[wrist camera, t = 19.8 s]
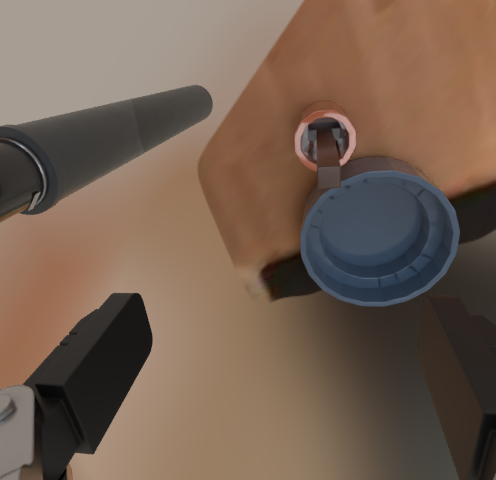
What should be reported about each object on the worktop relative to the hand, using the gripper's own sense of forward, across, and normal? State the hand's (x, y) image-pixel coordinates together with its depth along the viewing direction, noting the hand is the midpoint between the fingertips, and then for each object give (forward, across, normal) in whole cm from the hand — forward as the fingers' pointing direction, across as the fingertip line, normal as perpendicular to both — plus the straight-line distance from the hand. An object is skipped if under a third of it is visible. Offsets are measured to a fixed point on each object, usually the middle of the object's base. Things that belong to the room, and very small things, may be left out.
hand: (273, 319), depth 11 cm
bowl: (+32, -7, +11) cm, 35 cm away
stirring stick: (+32, -2, 0) cm, 32 cm away
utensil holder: (+32, -2, 0) cm, 32 cm away
